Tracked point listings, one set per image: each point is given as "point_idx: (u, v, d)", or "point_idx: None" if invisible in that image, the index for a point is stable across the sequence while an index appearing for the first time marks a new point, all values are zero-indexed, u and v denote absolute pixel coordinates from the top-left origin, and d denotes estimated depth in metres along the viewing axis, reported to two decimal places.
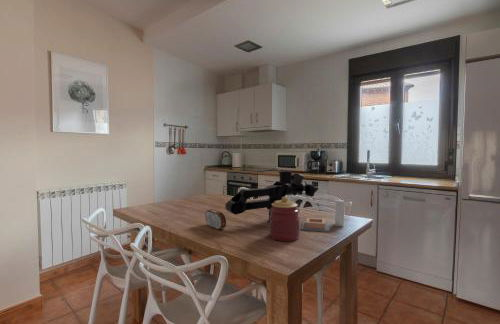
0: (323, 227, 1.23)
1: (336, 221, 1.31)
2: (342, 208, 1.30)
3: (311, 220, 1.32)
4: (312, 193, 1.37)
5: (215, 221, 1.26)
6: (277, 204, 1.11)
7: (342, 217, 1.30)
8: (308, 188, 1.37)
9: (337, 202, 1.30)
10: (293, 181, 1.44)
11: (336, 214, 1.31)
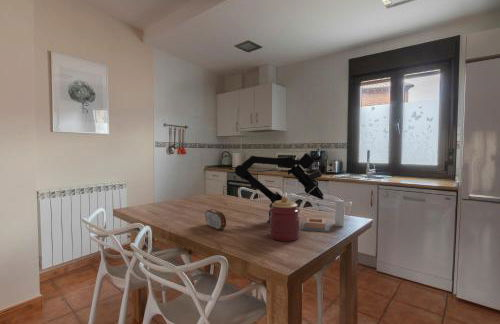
0: (323, 227, 1.23)
1: (336, 221, 1.31)
2: (342, 208, 1.30)
3: (311, 220, 1.32)
4: (308, 189, 1.27)
5: (215, 221, 1.26)
6: (277, 204, 1.11)
7: (342, 217, 1.30)
8: (309, 183, 1.28)
9: (337, 202, 1.30)
10: None
11: (336, 214, 1.31)
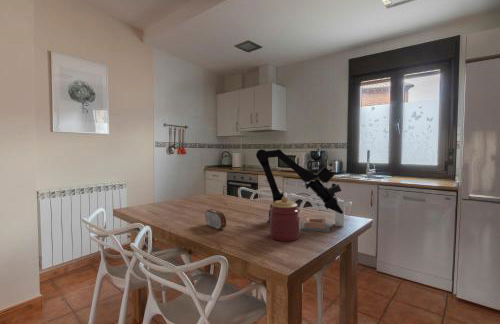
0: (323, 227, 1.23)
1: (336, 221, 1.31)
2: (342, 208, 1.30)
3: (311, 220, 1.32)
4: (328, 205, 1.25)
5: (215, 221, 1.26)
6: (277, 204, 1.11)
7: (342, 217, 1.30)
8: (329, 198, 1.25)
9: (337, 202, 1.30)
10: None
11: (336, 214, 1.31)
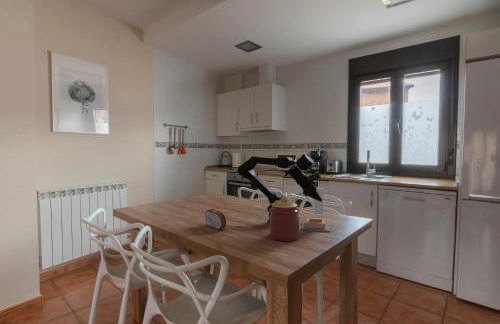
0: (323, 227, 1.23)
1: (315, 209, 1.28)
2: (321, 196, 1.27)
3: (311, 220, 1.32)
4: (306, 192, 1.21)
5: (215, 221, 1.26)
6: (277, 204, 1.11)
7: (321, 205, 1.27)
8: (308, 185, 1.22)
9: (316, 189, 1.27)
10: (309, 175, 1.31)
11: (315, 202, 1.27)
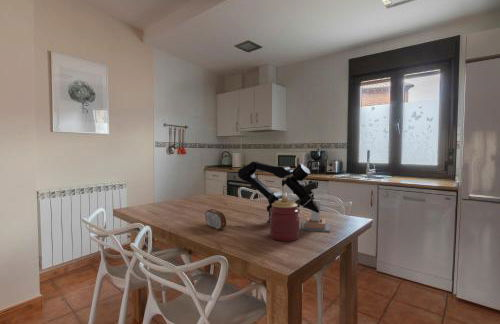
0: (323, 227, 1.23)
1: (312, 221, 1.27)
2: (318, 208, 1.26)
3: None
4: (302, 202, 1.21)
5: (215, 221, 1.26)
6: (277, 204, 1.11)
7: (318, 217, 1.26)
8: (304, 195, 1.22)
9: (313, 202, 1.27)
10: None
11: (312, 214, 1.27)
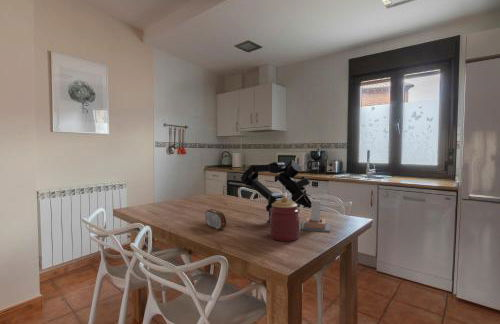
0: (323, 227, 1.23)
1: (312, 221, 1.27)
2: (318, 208, 1.26)
3: None
4: (295, 198, 1.22)
5: (215, 221, 1.26)
6: (277, 204, 1.11)
7: (318, 217, 1.26)
8: (296, 191, 1.23)
9: (313, 202, 1.27)
10: None
11: (312, 214, 1.27)
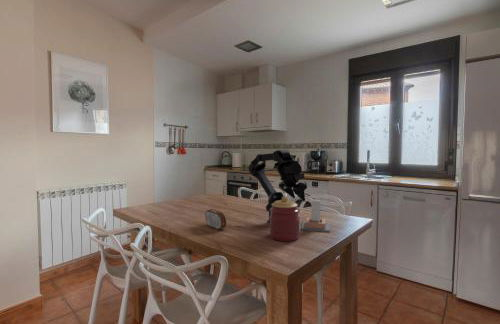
0: (323, 227, 1.23)
1: (312, 221, 1.27)
2: (318, 208, 1.26)
3: None
4: (300, 190, 1.25)
5: (215, 221, 1.26)
6: (277, 204, 1.11)
7: (318, 217, 1.26)
8: (301, 184, 1.26)
9: (313, 202, 1.27)
10: None
11: (312, 214, 1.27)
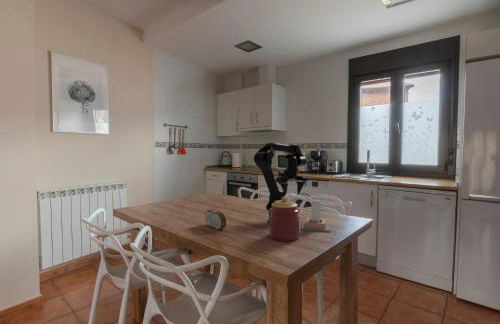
0: (323, 227, 1.23)
1: (312, 221, 1.27)
2: (318, 208, 1.26)
3: None
4: None
5: (215, 221, 1.26)
6: (277, 204, 1.11)
7: (318, 217, 1.26)
8: None
9: (313, 202, 1.27)
10: None
11: (312, 214, 1.27)
